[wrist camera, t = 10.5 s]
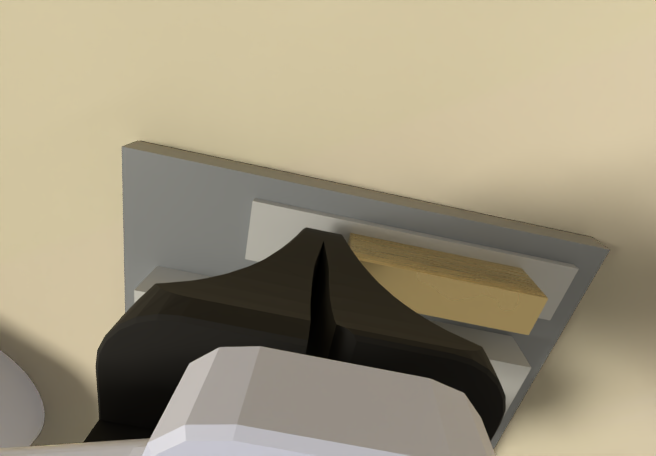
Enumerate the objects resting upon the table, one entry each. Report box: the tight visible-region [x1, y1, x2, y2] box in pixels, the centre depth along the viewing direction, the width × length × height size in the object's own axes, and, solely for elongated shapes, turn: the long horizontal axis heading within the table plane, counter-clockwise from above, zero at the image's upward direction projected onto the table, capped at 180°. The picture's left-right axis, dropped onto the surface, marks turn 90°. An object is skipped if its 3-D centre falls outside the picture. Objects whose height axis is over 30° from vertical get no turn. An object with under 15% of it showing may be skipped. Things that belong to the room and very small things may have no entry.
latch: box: [348, 233, 548, 335], centre depth 12 cm, size 1×6×2 cm, turn 78°
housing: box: [122, 141, 610, 449], centre depth 13 cm, size 14×16×6 cm
